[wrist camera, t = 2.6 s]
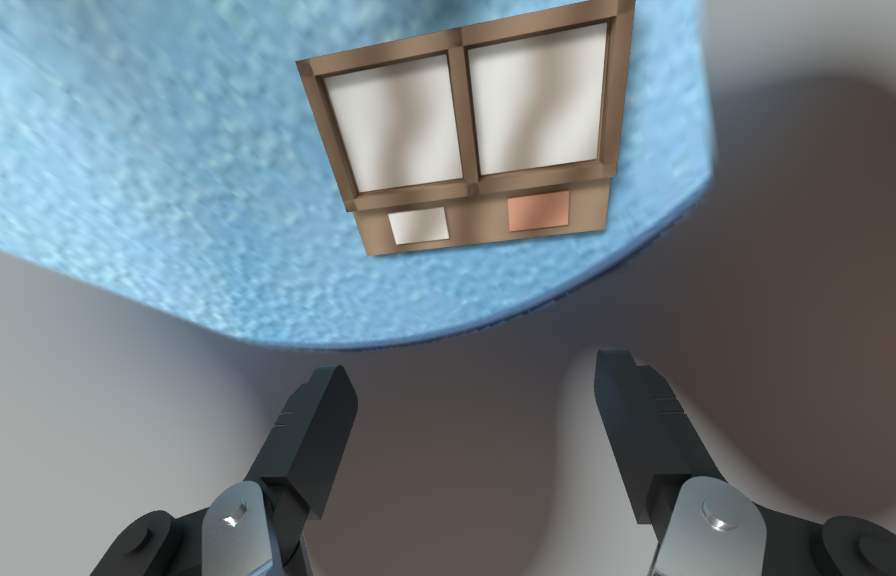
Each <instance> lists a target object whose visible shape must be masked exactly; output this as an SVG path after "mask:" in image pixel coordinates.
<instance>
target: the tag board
mask: <svg viewBox="0 0 896 576" xmlns="http://www.w3.org/2000/svg"><path fill="white" fill-rule="evenodd" d="M635 1H636V0H589V1H584V2H579V3H574V4H569V5H565V6H560V7H555V8H550V9H545V10H541V11H536V12H531V13H526V14H521V15H516V16H512V17H507V18H502V19H497V20H492V21H488V22H483V23H478V24H473V25H468V26H464V27H459V28H454V29H449V30H444V31H439V32H435V33H430V34H425V35H420V36H415V37H411V38H406V39H401V40H396V41H391V42H386V43H382V44H377V45H372V46H367V47H362V48H358V49H353V50H348V51H343V52H338V53H334V54H329V55H324V56H319V57H314V58H309V59H305V60H300V61H295V62H296V65H297V68H298V71H299V74H300V76H301V79H302V82H303V85H304V88H305V91H306V94H307V97H308V100H309V103H310V106H311V109H312V112H313V114H314V117H315V120H316V123H317V126H318V129H319V132H320V135H321V138H322V141H323V144H324V147H325V150H326V153H327V155H328V158H329V161H330V164H331V167H332V170H333V173H334V176H335V179H336V182H337V185H338V188H339V191H340V194H341V196H342V199H343V202H344V205H345V208H346V211H347V212H352V211H353V214H354V217H355V220H356V223H357V226H358V229H359V232H360V235H361V238H362V241H363V244H364V247H365V251H366V254H367V256H371V255H380V254H389V253H398V252H407V251H416V250H425V249H434V248H443V247H452V246H461V245H469V244H478V243H487V242H496V241H505V240H514V239H523V238H532V237H541V236H550V235H559V234H568V233H577V232H586V231H594V230H603V229H605V227H606V217H607V207H608V197H609V187H610V177H615V176H616V173H617V164H618V154H619V145H620V136H621V127H622V118H623V109H624V100H625V91H626V82H627V73H628V64H629V55H630V46H631V37H632V28H633V19H634V10H635Z"/></svg>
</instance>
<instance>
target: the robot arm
mask: <svg viewBox="0 0 896 576" xmlns="http://www.w3.org/2000/svg"><path fill="white" fill-rule="evenodd" d="M594 392H595V398H596V403H597V406H598V409H599V412H600V415H601V418H602V421H603V424H604V427H605V430H606V433H607V436H608V438H609V441H610V444H611V447H612V450H613V453H614V456H615V459H616V462H617V465H618V468H619V471H620V474H621V476H622V480H623V482H624V485H625V488H626V491H627V494H628V497H629V500H630V503H631V506H632V509H633V512H634V515H635V518H636V520H637V524H652V526H653V529H654V531H655V534H656V537H657V539H658V544H657V546H656V549H655V552H654V555H653V558H652V562H651V565H650V568H649V571H648V574H647V576H896V535H895V534H893V533H892V532H890V531H888V530H887V529H885V528H883V527H881V526H879V525H877V524H875V523H872V522H870V521H867V520H864V519H861V518H857V517H852V516H836V517H833V518H830V519H828V520H827V521H826V522H825V523H824V524H823V525H821V524H818V523H814V522H811V521H808V520H804V519H801V518H797V517H794V516H791V515H787V514H784V513H780V512H777V511H773V510H771V509H767V508H765V507H763V506H761V505H758V504H756V503H755V502H753V501H751V500H750V499H749V498H748V497H747V496H746V495H745V494H743V493H742V492H741V491H740V490H738V489H737V488H735V487H734V486H732V485H730V484H729V483H728V482H727V481H726V480H725V478H724V477H723V476H722V475H721V473H720V472H719V470H718V468H717V467H716V465H715V463H714V462H713V460H712V458H711V456H710V455H709V453H708V451H707V450H706V448H705V446H704V444H703V443H702V441H701V439H700V437H699V436H698V434H697V432H696V431H695V429H694V427H693V425H692V424H691V422H690V420H689V418H688V417H687V415H686V414H684V410H683V408H682V406H681V405H680V403H679V401H678V400H676V396H675V394H674V392H673V391H672V389H671V387H670V386H669V384H668V382H667V381H666V379H665V378H663V376H661V375H660V374H659V373H658V372H657V371H656V370H654V369H653V368H652V367H651V366H650V365H646V366H637V365H636V363H635V362H634V359H633V357H632V356H631V354H630V352H629V350H628V349H627V348H618V349H617V348H616V349H601V350H598V352H597V360H596V370H595V379H594ZM357 410H358V399H357V395H356V392H355V390H354V388H353V386H352V384H351V382H350V379H349V377H348V375H347V373H346V371H345V369H344V367H343V366H341V365H336V366H320V367H317V368H316V369H315V370H314V372H313V374H312V376H311V378H310V380H309V382H308V383H307V384H302V385H301V386H300V387H299V388H298V389H297V390H296V391H295V392H294V393H293V394H292V395H291V396H290V397H289V399H288V401H287V403H286V405H285V407H284V408H283V410H282V412H281V413H282V414H281V415H280V416H279V417H278V419H277V421H276V423H275V427H274V428H272V430H271V432H270V434H269V435H268V437H267V439H266V441H265V443H264V445H263V447H262V448H261V450H260V452H259V454H258V455H257V457H256V459H255V461H254V463H253V465H252V466H251V468H250V470H249V472H248V474H247V475H246V477H245V479H244V480H243V481H242V482H240V483H237V484H235V485H233V486H231V487H230V488H228V489H226V490H225V491H224V492H223V493H221V494H220V496H218V497H217V498H216V500H215V501H214V502H213V503H212V505H211V506H210V507H208V508H205V509H202V510H199V511H197V512H194V513H191V514H188V515H185V516H182V517H180V518H177V519H175V518H174V517H173V516H171V515H170V514H169V513H167V512H166V511H163V510H162V511H161V510H158V511H153V512H150V513H148V514H145V515H143V516H142V517H140V518H138V519H137V520H135V521H134V522H133V523H131V524H130V525H129V526H128V527H127V528H126V529H125V530H124V531H122V533H121V534H120V535H119V536H118V537H117V538H116V539H115V541H114V542H113V543H112V545H111V546H110V548H109V549H108V551H107V552H106V553H105V555H104V556H103V558H102V559H101V561H100V562H99V563H98V565H97V566H96V568H95V569H94V570H93V572H92V573H91V575H90V576H313V571H312V567H311V563H310V559H309V555H308V551H307V547H306V542H305V538H304V535H303V533H302V530H303V527H304V524H305V522H306V520H321V518H322V515H323V512H324V509H325V506H326V503H327V500H328V497H329V494H330V491H331V488H332V485H333V482H334V479H335V476H336V473H337V470H338V468H339V465H340V462H341V459H342V456H343V453H344V450H345V447H346V444H347V441H348V438H349V435H350V432H351V429H352V426H353V423H354V420H355V417H356V414H357Z"/></svg>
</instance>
